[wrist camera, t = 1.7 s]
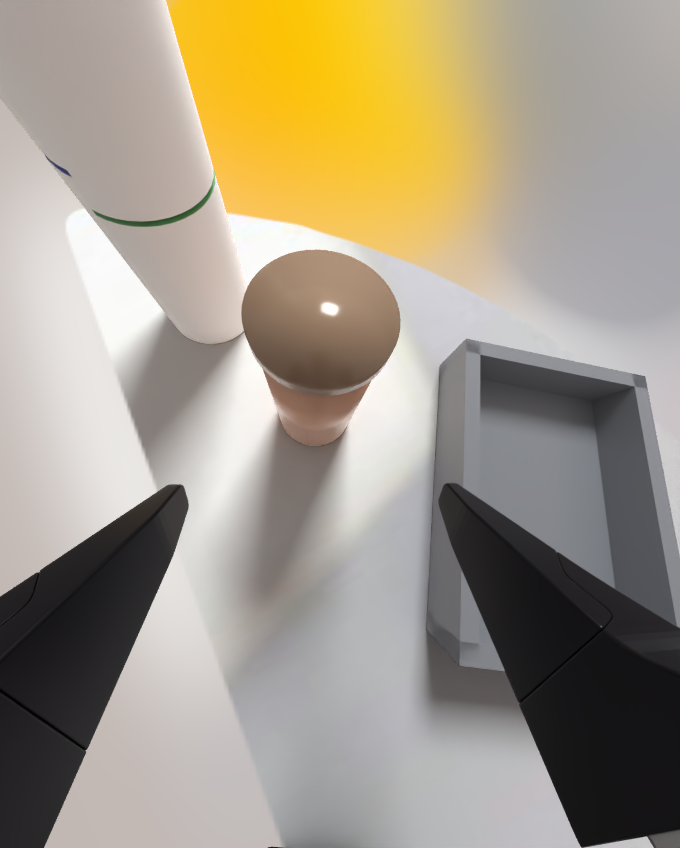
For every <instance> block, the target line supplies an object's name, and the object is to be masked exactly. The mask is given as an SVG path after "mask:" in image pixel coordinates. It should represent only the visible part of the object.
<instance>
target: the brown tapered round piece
mask: <svg viewBox="0 0 680 848" xmlns="http://www.w3.org/2000/svg"><path fill="white" fill-rule="evenodd" d="M241 317H242V325H243V329H244V333H245V335H246V338H247V340H248V343H249V346H250V348H251V350H252V353H253V355H254V357H255V359H256V360H257V362H258V363H259V365H260V366H261V367H262V368H263V371H264V374H265V377H266V379H267V382H268V385H269V388H270V391H271V394H272V397H273V400H274V402H275V405H276V408H277V411H278V414H279V417H280V420H281V423H282V425H283V427H284V429H285V431H286V432H287V433H288V435H289V436H290V437H291V438H293V439H294V440H295V441H297V442H299V443H301V444H304V445H308V446H323V445H326V444H329V443H331V442H333V441H335V440H336V439H337V438H339V437H340V436H341V435H342V433H343V432H344V431H345V429H346V427H347V425H348V423H349V421H350V419H351V418H352V416H353V414H354V412H355V410H356V408H357V406H358V404H359V403H360V401H361V399H362V397H363V395H364V393H365V391H366V390H367V388H368V386H369V384H370V382H371V380H372V379H373V378H374V377H375V376H376V375H377V374H378V373H379V372H380V371H381V370H382V368H383V367H384V366H385V364H386V362H387V360H388V359H389V357H390V355H391V353H392V352H393V350H394V348H395V346H396V343H397V340H398V337H399V332H400V313H399V308H398V305H397V302H396V299H395V297H394V295H393V293H392V291H391V289H390V288H389V286H388V285H387V284H386V282H385V281H384V280H383V279H382V278H381V277H380V276H379V275H378V274H377V273H376V272H375V271H374V270H373V269H371V268H370V267H369V266H367V265H366V264H364V263H362V262H361V261H359V260H357V259H355V258H352V257H350V256H347V255H345V254H341V253H337V252H333V251H327V250H305V251H298V252H294V253H290V254H287V255H284V256H282V257H279V258H277V259H275V260H274V261H272V262H270V263H269V264H267V265H266V266H265V267H263V268H262V269H261V270H260V271H259V272H258V273H257V274H256V275H255V277H254V278H253V279H252V280H251V282H250V284H249V285H248V287H247V289H246V292H245V294H244V298H243V302H242V310H241Z"/></svg>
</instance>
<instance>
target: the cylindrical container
mask: <svg viewBox="0 0 680 848" xmlns="http://www.w3.org/2000/svg"><path fill="white" fill-rule="evenodd" d="M0 98H1V99H2V101H3V102H4V103H5V105H6V106H7V107H8V109H9V110H10V111H11V112H12V114H13V115H14V116H15V118H16V119H17V120H18V122H19V123H20V124H21V125H22V127H23V128H24V129H25V131H26V132H27V133H28V135H29V136H30V137H31V139H32V140H33V141H34V142H35V144H36V145H37V146H38V147H39V149H40V150H41V151H42V152H43V153H44V155H45V156H46V158H47V159H48V161H49V162H50V163H51V165H52V166H53V167H54V169H55V170H56V171H57V172H58V174H59V175H60V176H61V178H62V179H63V180H64V181H65V183H66V184H67V185H68V187H69V188H70V189H71V191H72V192H73V193H74V195H75V196H76V197H77V198H78V200H79V201H80V202H81V204H82V205H83V206H84V208H85V209H86V210H87V212H88V213H89V214H90V216H91V217H92V218H93V219H94V221H95V222H96V223H97V225H98V226H99V227H100V229H101V230H102V231H103V232H104V234H105V235H106V236H107V238H108V239H109V240H110V242H111V243H112V244H113V245H114V247H115V248H116V249H117V251H118V252H119V253H120V255H121V256H122V257H123V259H124V260H125V261H126V262H127V264H128V265H129V266H130V268H131V269H132V270H133V272H134V273H135V274H136V275H137V277H138V278H139V279H140V281H141V282H142V283H143V285H144V286H145V287H146V289H147V290H148V291H149V292H150V294H151V295H152V296H153V298H154V299H155V300H156V302H157V303H158V304H159V305H160V307H161V308H162V309H163V311H164V312H165V313H166V315H167V316H168V317H169V319H170V320H171V321H172V322H173V324H174V325H175V326H176V328H177V329H178V330H179V331H180V332H181V333H182V334H183V335H184V336H186V337H187V338H189V339H191V340H193V341H196V342H200V343H204V344H217V343H223V342H226V341H230V340H232V339H234V338H236V337H237V336H239V335H240V334H241V333H242V332H243V331H244V329H243V325H242V317H241V310H242V302H243V298H244V294H245V292H246V289H247V283H246V280H245V276H244V273H243V269H242V266H241V262H240V259H239V255H238V252H237V248H236V245H235V241H234V238H233V235H232V231H231V228H230V224H229V221H228V217H227V214H226V210H225V207H224V203H223V200H222V196H221V193H220V189H219V186H218V182H217V179H216V175H215V172H214V168H213V165H212V161H211V158H210V154H209V151H208V148H207V144H206V140H205V137H204V133H203V130H202V126H201V123H200V119H199V116H198V112H197V108H196V105H195V102H194V98H193V94H192V91H191V88H190V84H189V81H188V77H187V74H186V70H185V67H184V63H183V59H182V56H181V52H180V49H179V45H178V42H177V38H176V35H175V31H174V28H173V24H172V21H171V17H170V14H169V10H168V7H167V3H166V0H0Z"/></svg>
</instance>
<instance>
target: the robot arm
mask: <svg viewBox="0 0 680 848" xmlns="http://www.w3.org/2000/svg"><path fill="white" fill-rule="evenodd" d="M438 504H439V508H440V511H441V515H442V518H443V521H444V524H445V528H446V531H447V534H448V537H449V540H450V543H451V546H452V548H453V551H454V553H455V556H456V558H457V560H458V563H459V565H460V567H461V570H462V572H463V574H464V577H465V579H466V581H467V584H468V586H469V588H470V591H471V593H472V595H473V598H474V600H475V602H476V605H477V607H478V609H479V612H480V614H481V616H482V619H483V621H484V623H485V626H486V628H487V630H488V633H489V635H490V637H491V640H492V642H493V644H494V647H495V649H496V651H497V654H498V656H499V658H500V661H501V663H502V665H503V668H504V670H505V672H506V675H507V677H508V679H509V682H510V684H511V686H512V689H513V691H514V693H515V696H516V698H517V700H518V702H519V703H520V704H519V706H520V708H521V710H522V713H523V715H524V717H525V720H526V722H527V724H528V727H529V729H530V731H531V734H532V736H533V738H534V741H535V743H536V745H537V748H538V750H539V752H540V755H541V757H542V759H543V762H544V764H545V766H546V769H547V771H548V773H549V776H550V778H551V780H552V783H553V785H554V787H555V790H556V792H557V794H558V797H559V799H560V801H561V804H562V806H563V808H564V811H565V813H566V815H567V818H568V820H569V822H570V825H571V827H572V829H573V832H574V834H575V836H576V838H577V840H578V842H579V844H580V846H581V847H582V848H584V847H590V846H595V845H601V844H606V843H612V842H618V841H623V840H629V839H634V838H640V837H645V836H647V837H648V839H649V840H650V842H651V844H652V845H653V847H654V848H680V628H679V627H677V626H675V625H674V624H672V623H670V622H669V621H667V620H665V619H664V618H662V617H661V616H659V615H657V614H656V613H654V612H652V611H651V610H649V609H647V608H646V607H644V606H643V605H641V604H639V603H638V602H636V601H634V600H633V599H631V598H629V597H628V596H626V595H624V594H623V593H621V592H620V591H618V590H616V589H615V588H613V587H611V586H610V585H608V584H607V583H605V582H603V581H602V580H600V579H599V578H597V577H595V576H594V575H592V574H591V573H589V572H588V571H586V570H585V569H583V568H582V567H580V566H578V565H577V564H575V563H574V562H572V561H571V560H569V559H568V558H567V557H565V556H564V555H562V554H561V553H559V552H556V550H555V549H553V548H552V547H550V546H549V545H547V544H546V543H544V542H543V541H541V540H540V539H538V538H537V537H535V536H534V535H533V534H531V533H530V532H528V531H527V530H525V529H524V528H522V527H521V526H519V525H518V524H516V523H515V522H513V521H512V520H510V519H509V518H507V517H506V516H504V515H503V514H502V513H500V512H499V511H497V510H496V509H494V508H493V507H491V506H490V505H488V504H487V503H485V502H484V501H482V500H481V499H479V498H478V497H476V496H475V495H474V494H472V493H471V492H469V491H468V490H466V489H465V488H463V487H462V486H460V485H459V484H457V483H445V484H444V485H443V487H442V490H441V493H440V496H439V499H438ZM188 506H189V504H188V499H187V496H186V492H185V489H184V486H183V485H181V484H171V485H167V486H166V487H164V488H163V489H161V490H160V491H158V492H157V493H155V494H154V495H152V496H151V497H149V498H148V499H146V500H145V501H143V502H142V503H140V504H139V505H137V506H136V507H134V508H133V509H131V510H130V511H128V512H127V513H125V514H124V515H122V516H121V517H119V518H118V519H116V520H115V521H113V522H112V523H110V524H109V525H107V526H106V527H104V528H103V529H101V530H100V531H98V532H97V533H95V534H94V535H92V536H91V537H89V538H88V539H86V540H85V541H83V542H82V543H80V544H79V545H77V546H76V547H74V548H73V549H71V550H70V551H68V552H67V553H65V554H64V555H62V556H61V557H59V558H58V559H56V560H55V561H53V562H52V563H50V564H49V565H47V566H46V567H44V568H43V569H41V570H40V572H39V573H35V574H34V575H32V576H31V577H29V578H28V579H26V580H25V581H23V582H22V583H20V584H19V585H17V586H16V587H14V588H13V589H11V590H10V591H8V592H7V593H5V594H3V595H2V596H1V597H0V848H44V846H45V844H46V842H47V839H48V837H49V835H50V833H51V831H52V828H53V826H54V824H55V821H56V819H57V817H58V815H59V813H60V810H61V808H62V806H63V803H64V801H65V799H66V796H67V794H68V792H69V790H70V788H71V785H72V783H73V781H74V778H75V776H76V774H77V772H78V770H79V767H80V765H81V763H82V761H83V758H84V756H85V754H86V751H85V750H87V748H88V747H89V744H90V742H91V740H92V738H93V735H94V733H95V731H96V728H97V726H98V724H99V722H100V719H101V717H102V715H103V713H104V710H105V708H106V706H107V704H108V701H109V699H110V697H111V695H112V692H113V690H114V688H115V686H116V683H117V681H118V679H119V676H120V674H121V672H122V670H123V668H124V665H125V663H126V661H127V659H128V656H129V654H130V652H131V649H132V647H133V645H134V643H135V640H136V638H137V636H138V634H139V631H140V629H141V627H142V625H143V623H144V620H145V618H146V616H147V613H148V611H149V609H150V607H151V604H152V602H153V600H154V598H155V595H156V593H157V591H158V589H159V586H160V584H161V582H162V579H163V577H164V575H165V573H166V571H167V568H168V566H169V564H170V562H171V559H172V557H173V554H174V551H175V549H176V546H177V542H178V539H179V536H180V533H181V530H182V527H183V524H184V520H185V517H186V514H187V511H188ZM268 848H281V847H268Z"/></svg>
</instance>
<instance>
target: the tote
mask: <svg viewBox="0 0 680 848" xmlns="http://www.w3.org/2000/svg"><path fill="white" fill-rule="evenodd" d="M445 483H457V484H459V485H460V486H462V487H463V488H465V489H466V490H468V491H469V492H471V493H472V494H474V495H475V496H476V497H478V498H479V499H481V500H482V501H484V502H485V503H487V504H488V505H490V506H491V507H493V508H494V509H496V510H497V511H499V512H500V513H502V514H503V515H504V516H506V517H507V518H509V519H510V520H512V521H513V522H515V523H516V524H518V525H519V526H521V527H522V528H524V529H525V530H527V531H528V532H530V533H531V534H533V535H534V536H535V537H537V538H538V539H540V540H541V541H543V542H544V543H546V544H547V545H549V546H550V547H552V548H553V549H555V550H556V552H559V553H561V554H562V555H564V556H565V557H567V558H568V559H569V560H571V561H572V562H574V563H575V564H577V565H578V566H580V567H582V568H583V569H585V570H586V571H588V572H589V573H591V574H592V575H594V576H595V577H597V578H599V579H600V580H602V581H603V582H605V583H607V584H608V585H610V586H611V587H613V588H615V589H616V590H618V591H620V592H621V593H623V594H624V595H626V596H628V597H629V598H631V599H633V600H634V601H636V602H638V603H639V604H641V605H643V606H644V607H646V608H647V609H649V610H651V611H652V612H654V613H656V614H657V615H659V616H661V617H662V618H664V619H665V620H667V621H669V622H670V623H672V624H674V625H675V626H677V627H679V628H680V556H679V551H678V546H677V540H676V535H675V530H674V525H673V519H672V514H671V509H670V504H669V498H668V493H667V488H666V483H665V478H664V472H663V467H662V462H661V457H660V451H659V446H658V441H657V436H656V431H655V425H654V420H653V415H652V410H651V404H650V399H649V394H648V389H647V384H646V378H645V376H641V375H636V374H631V373H627V372H622V371H617V370H612V369H608V368H603V367H598V366H593V365H589V364H584V363H579V362H574V361H570V360H565V359H560V358H555V357H551V356H546V355H541V354H536V353H532V352H527V351H522V350H517V349H513V348H508V347H503V346H498V345H494V344H489V343H484V342H479V341H475V340H470V339H466V340H465V341H464V342H463V343H462V344H461V345H460V346H459V347H458V348H457V349H456V350H455V351H454V352H453V353H452V354H451V355H450V356H449V357H448V358H447V359H446V360H445V361H444V362H443V363H442V364H441V365H440V377H439V396H438V415H437V435H436V454H435V473H434V492H433V511H432V531H431V550H430V569H429V588H428V607H427V627H426V630H427V631H428V632H429V633H430V634H431V635H432V636H433V637H434V638H435V639H436V641H437V642H438V643H439V644H440V645H441V646H442V647H443V648H444V649H445V650H446V652H447V653H448V654H449V655H450V656H451V657H452V658H453V659H454V660H455V661H456V663H457V664H458V665H459V666H465V667H473V668H481V669H489V670H498V671H505V670H504V668H503V665H502V663H501V661H500V658H499V656H498V654H497V651H496V649H495V647H494V644H493V642H492V640H491V637H490V635H489V633H488V630H487V628H486V626H485V623H484V621H483V619H482V616H481V614H480V612H479V609H478V607H477V605H476V602H475V600H474V598H473V595H472V593H471V591H470V588H469V586H468V584H467V581H466V579H465V577H464V574H463V572H462V570H461V567H460V565H459V563H458V560H457V558H456V556H455V553H454V551H453V548H452V546H451V543H450V540H449V537H448V534H447V531H446V528H445V524H444V521H443V518H442V515H441V511H440V508H439V504H438V499H439V496H440V493H441V490H442V487H443V485H444V484H445Z"/></svg>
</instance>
